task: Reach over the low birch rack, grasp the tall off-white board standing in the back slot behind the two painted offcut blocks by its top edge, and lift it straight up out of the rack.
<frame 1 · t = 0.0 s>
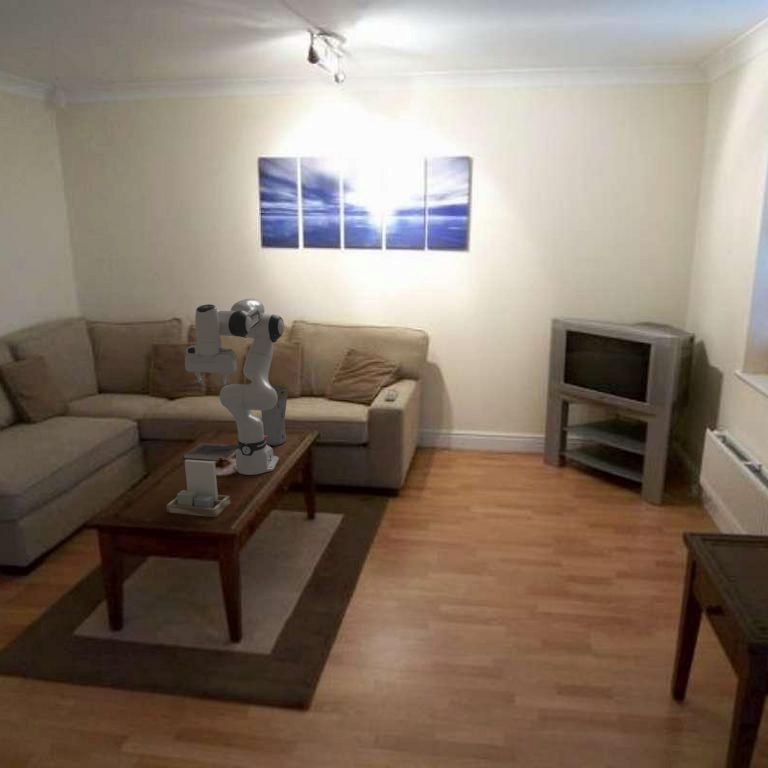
hand: (212, 383, 255), 48 cm above the table, fingers open, 8 cm apart
picture frame: (213, 454, 317), on the table
sage offcut: (188, 509, 259), resting in birch rack
tall board: (203, 503, 263), resting in birch rack
slate offcut: (204, 511, 257), resting in birch rack
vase: (276, 442, 331), on the table
birch rack: (198, 507, 259), on the table
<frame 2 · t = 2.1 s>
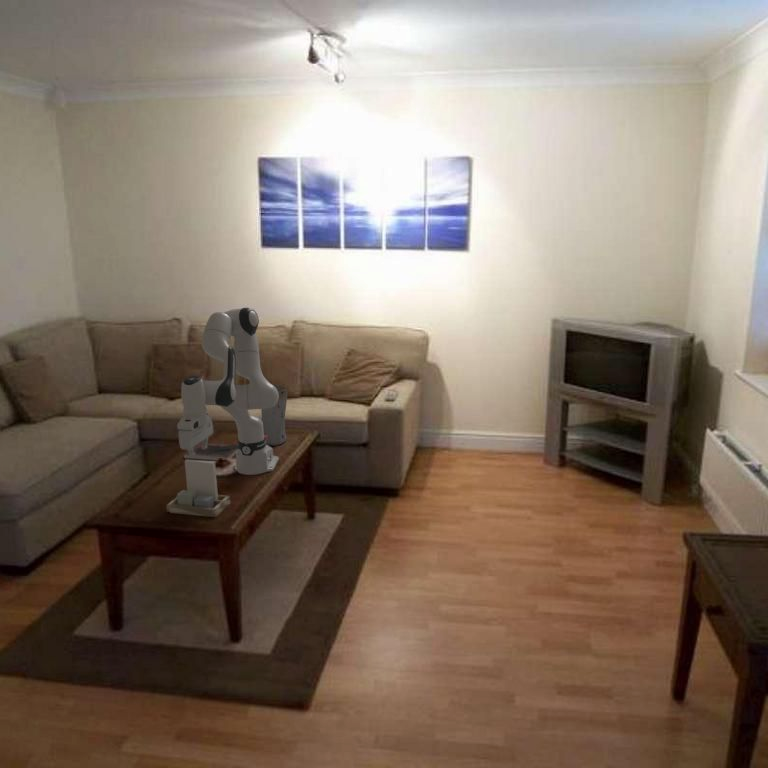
hand: (198, 453, 257), 21 cm above the table, fingers open, 8 cm apart
nothing on the table moved.
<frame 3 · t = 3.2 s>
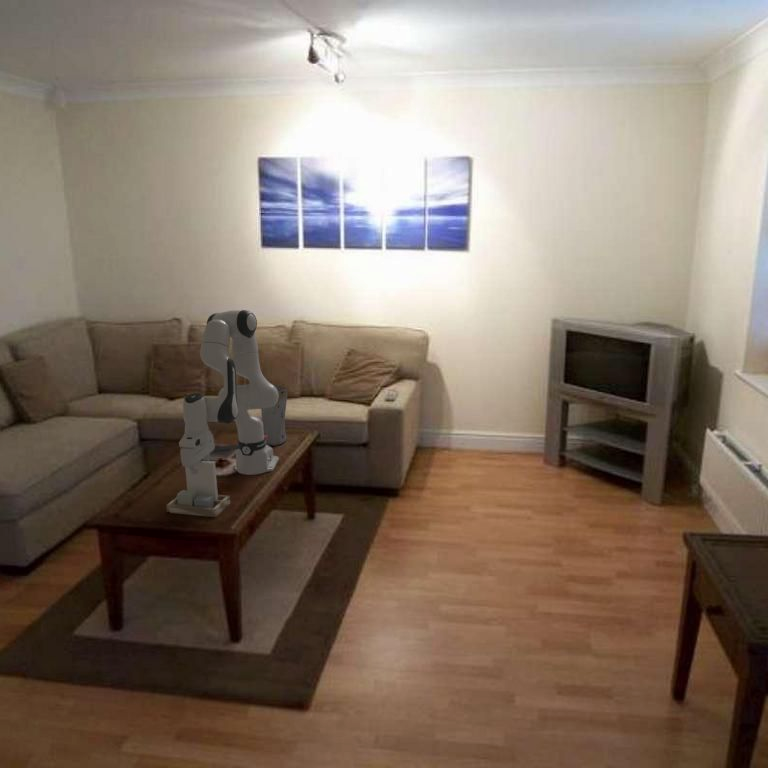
hand: (200, 469, 259), 15 cm above the table, fingers open, 8 cm apart
nothing on the table moved.
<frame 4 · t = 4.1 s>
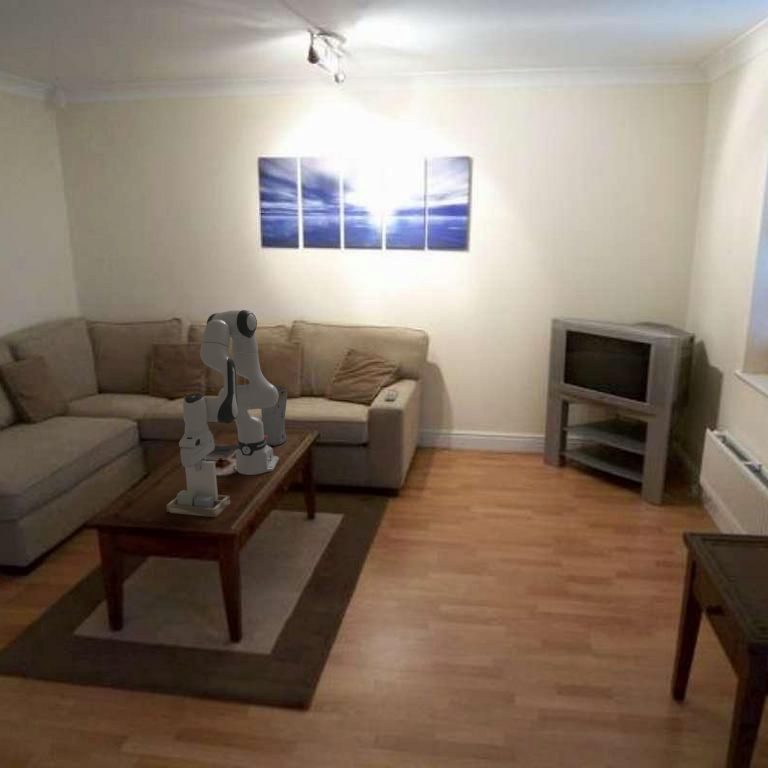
hand: (200, 469, 259), 15 cm above the table, fingers closed on tall board, 2 cm apart
tall board: (203, 503, 263), resting in birch rack, touching gripper
everything else where it was.
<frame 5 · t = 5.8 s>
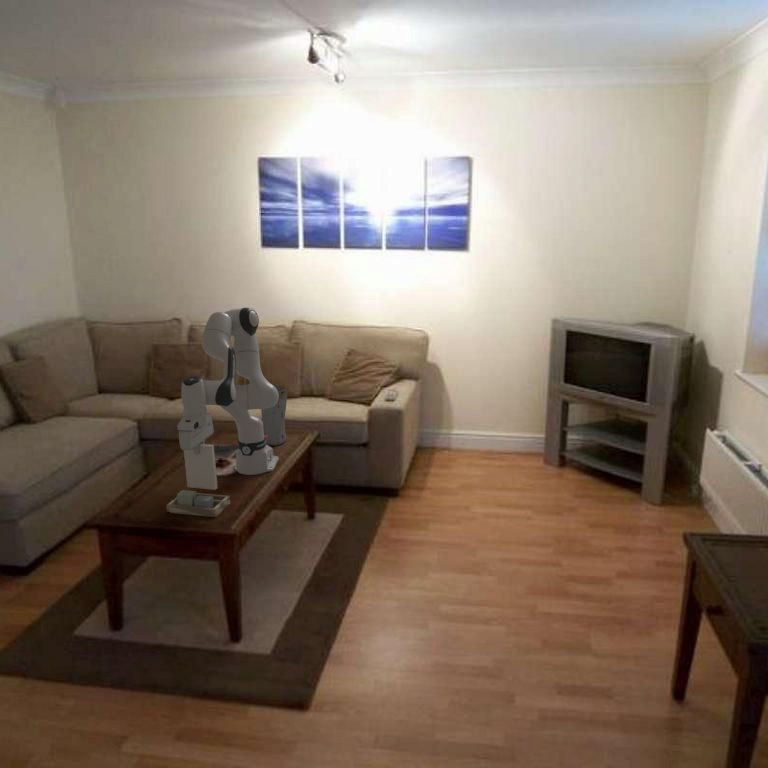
hand: (199, 452, 258), 21 cm above the table, fingers closed on tall board
tall board: (202, 487, 262), point 7 cm above the table, touching gripper
everything else where it was.
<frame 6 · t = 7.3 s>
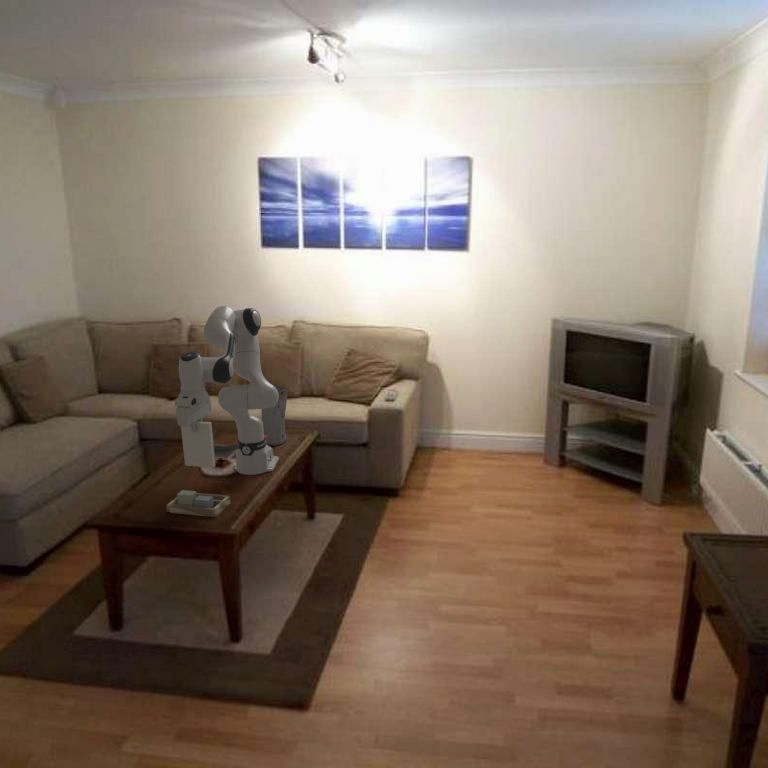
hand: (196, 430, 255), 31 cm above the table, fingers closed on tall board
tall board: (200, 465, 259), point 16 cm above the table, touching gripper
everything else where it was.
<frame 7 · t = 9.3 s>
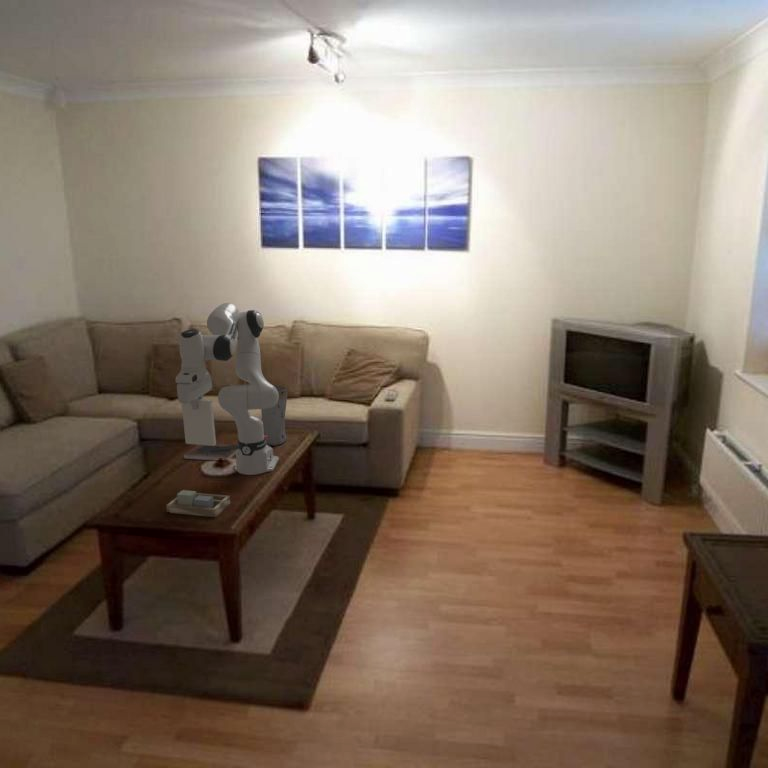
hand: (197, 408, 255), 39 cm above the table, fingers closed on tall board
tall board: (200, 443, 259), point 24 cm above the table, touching gripper
everything else where it was.
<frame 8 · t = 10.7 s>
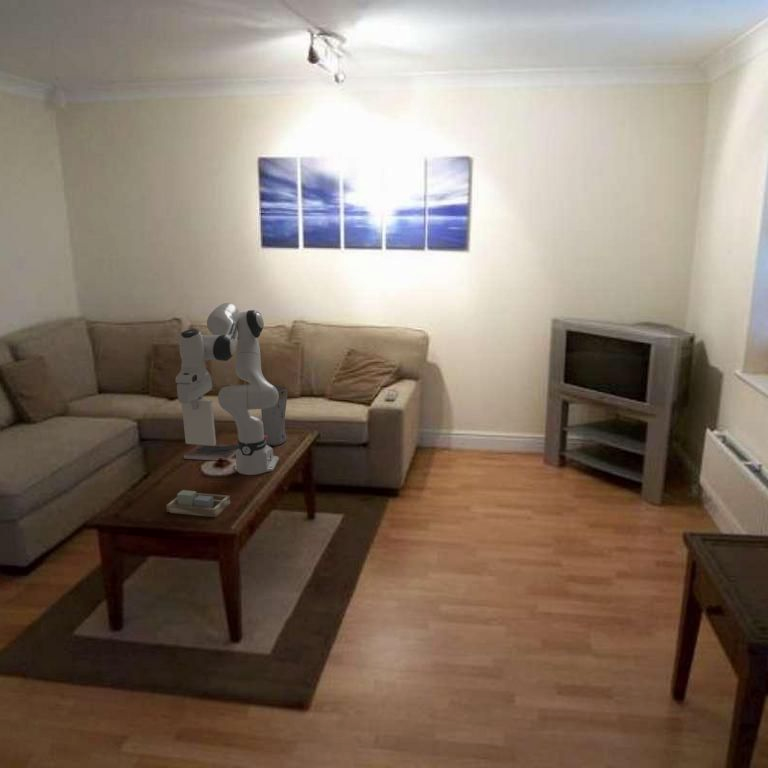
hand: (197, 408, 255), 39 cm above the table, fingers closed on tall board
tall board: (200, 443, 259), point 24 cm above the table, touching gripper
everything else where it was.
at the end: the gripper is holding tall board; tall board point 24.4 cm above the table; sage offcut moved 0.1 cm from its start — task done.
